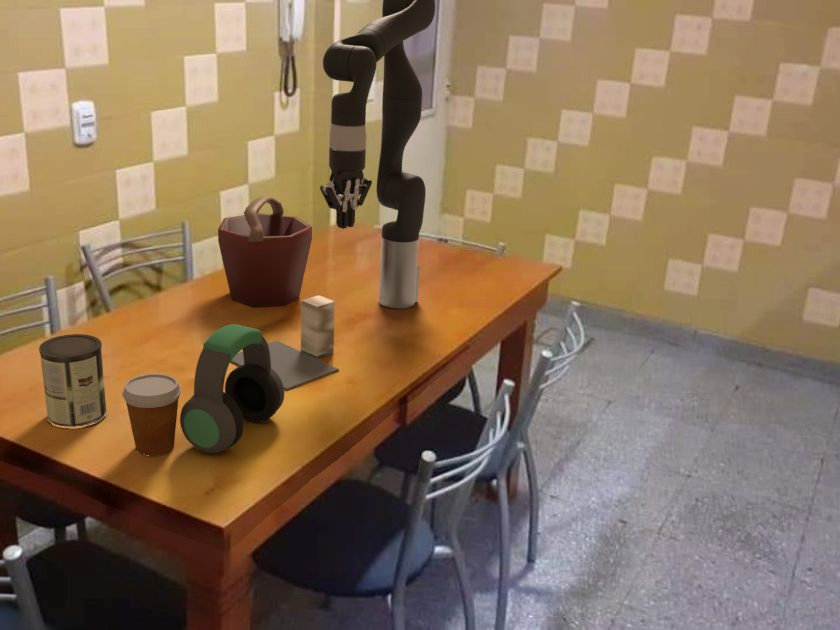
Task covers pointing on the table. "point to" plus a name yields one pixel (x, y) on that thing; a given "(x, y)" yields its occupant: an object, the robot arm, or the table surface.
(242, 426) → the headphones
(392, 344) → the table surface
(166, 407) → the disposable coffee cup
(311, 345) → the cream block
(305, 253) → the bucket
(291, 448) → the table surface
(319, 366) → the mat
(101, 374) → the coffee can
